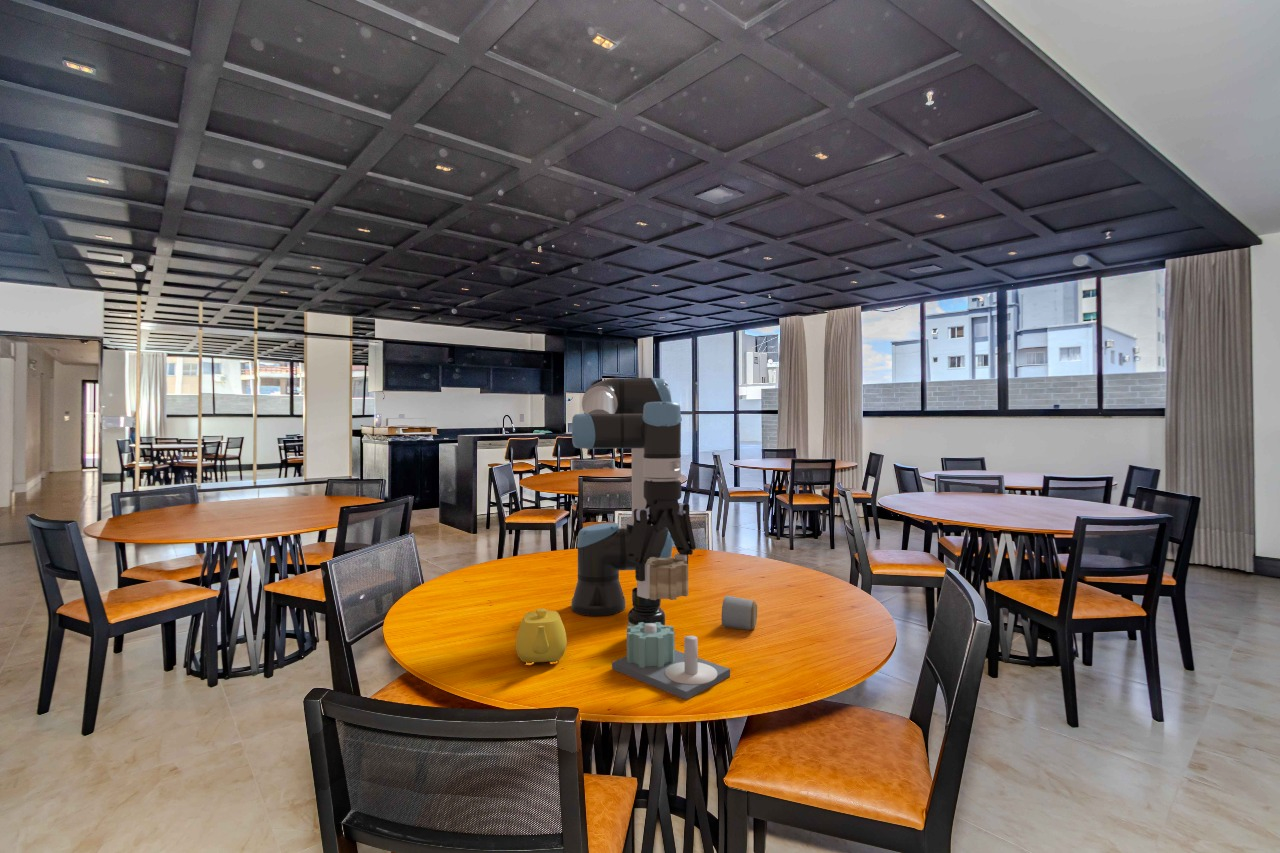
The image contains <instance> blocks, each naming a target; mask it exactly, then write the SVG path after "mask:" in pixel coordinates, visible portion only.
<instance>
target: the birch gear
mask: <svg viewBox="0 0 1280 853" xmlns="http://www.w3.org/2000/svg"><path fill="white" fill-rule="evenodd" d="M646 563H648V564H650V600H657V599H661V600H664V599H665V600H670V601H674V600H677V598H680V597H688V596H689V563H688V564H687V561H686V560H678V559H675V556H674V557H673V556H671V557H668V558H656V557H649V559H648V560H647V562H646Z"/></svg>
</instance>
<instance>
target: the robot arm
mask: <svg viewBox="0 0 1280 853" xmlns="http://www.w3.org/2000/svg"><path fill="white" fill-rule="evenodd" d="M581 407H582V410H583V413H576V414H574V415H573V416H572V420H571V421H572V422H571V439H572V440H571V441H572V445H573V448H576V449H586V450H595V449H599V450H601V449H603V450H604V449H605V450H607V449H631V515H630V517H629V519H627V520H626V527H625V528H624V527H623V528H621V527H620V525H619V524H618V523H617V522H603V523H597V524H595V523H594V524H591V525H588V526H584V527H583V528H581V529H580V530H579V531H578V532H577V533H578V534H577V544H576V548H577V582H576V585H575V588H574V593H573V597H572V599H571V607H570V608H571V610H572V612H574V613H576V614H578V615H581V616H588V617H601V616H603V617H604V616H610V615H615V614H618V613H621V612H622V611H624V610H625V609H626V597H625V595H624V592H623V588H622V585H621V582H620V571H635V581H636V588H637V596H639V597H643V598H646V599H649V598H650V564H648V563H646V562H647V560H648V559H649V557H656V558H668V557H672V553H673V544H674V547H675V549H676V551H677V552H678V553H674V559H678V560H686V561H687V564H688V565H689V556H692V555H693V553H694V551H695V549H696V542H695V537H694V532H693V526H692V522H691V516H690V504H689V503H683V502H682V503H680V502H679V500H681V498H682V481H681V480H679V479H680V478H681V477H682V461H681V460H682V458H681V457H682V455H681V452H682V451H681V450H682V449H681V448H682V443H681V442H682V438H681V437H682V413H681V404H679V403H678V402H676V401H672V394H671V390H670V386H669V383H668V382H667V381H666V380H665V379H664V378H657V377H625V378H624V377H613V378H607V379H604V380H601V381H598V382H596V383H594V384H593V385H591V386H590V387H588V389H587V390H586V391H585V392H584V394H583V396H582V399H581Z"/></svg>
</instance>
